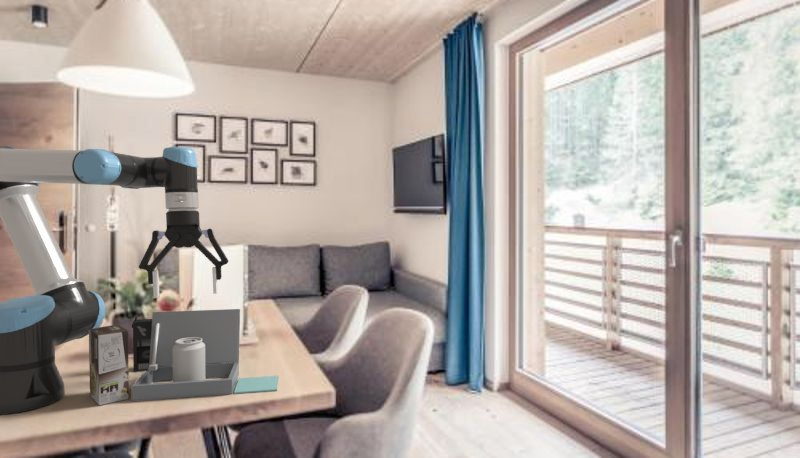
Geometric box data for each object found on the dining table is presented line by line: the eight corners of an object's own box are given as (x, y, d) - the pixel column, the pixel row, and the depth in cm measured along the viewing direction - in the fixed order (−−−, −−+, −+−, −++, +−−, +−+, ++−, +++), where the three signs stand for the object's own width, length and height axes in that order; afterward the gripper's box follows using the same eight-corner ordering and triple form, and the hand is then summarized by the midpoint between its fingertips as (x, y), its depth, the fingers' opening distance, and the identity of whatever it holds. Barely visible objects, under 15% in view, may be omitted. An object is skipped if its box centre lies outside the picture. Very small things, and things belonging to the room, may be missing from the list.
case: (131, 401, 109) (130, 327, 109) (154, 375, 127) (153, 311, 126) (231, 394, 114) (231, 323, 114) (240, 369, 132) (240, 308, 131)
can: (205, 380, 123) (205, 334, 123) (205, 390, 116) (204, 341, 116) (174, 383, 121) (173, 337, 120) (171, 394, 114) (171, 344, 113)
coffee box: (130, 398, 111) (129, 330, 110) (98, 406, 106) (97, 335, 106) (119, 388, 118) (118, 323, 117) (89, 395, 113) (88, 327, 112)
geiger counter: (175, 363, 137) (174, 311, 137) (173, 368, 133) (173, 314, 133) (134, 367, 134) (133, 314, 133) (131, 372, 129) (130, 317, 129)
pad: (234, 393, 114) (234, 392, 114) (239, 379, 124) (239, 378, 124) (276, 390, 116) (277, 389, 116) (278, 377, 126) (278, 375, 126)
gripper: (122, 211, 111) (126, 301, 112) (234, 208, 118) (238, 293, 119) (130, 212, 118) (135, 296, 119) (236, 209, 125) (239, 289, 126)
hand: (186, 295), depth 119 cm, fingers open, 13 cm apart
